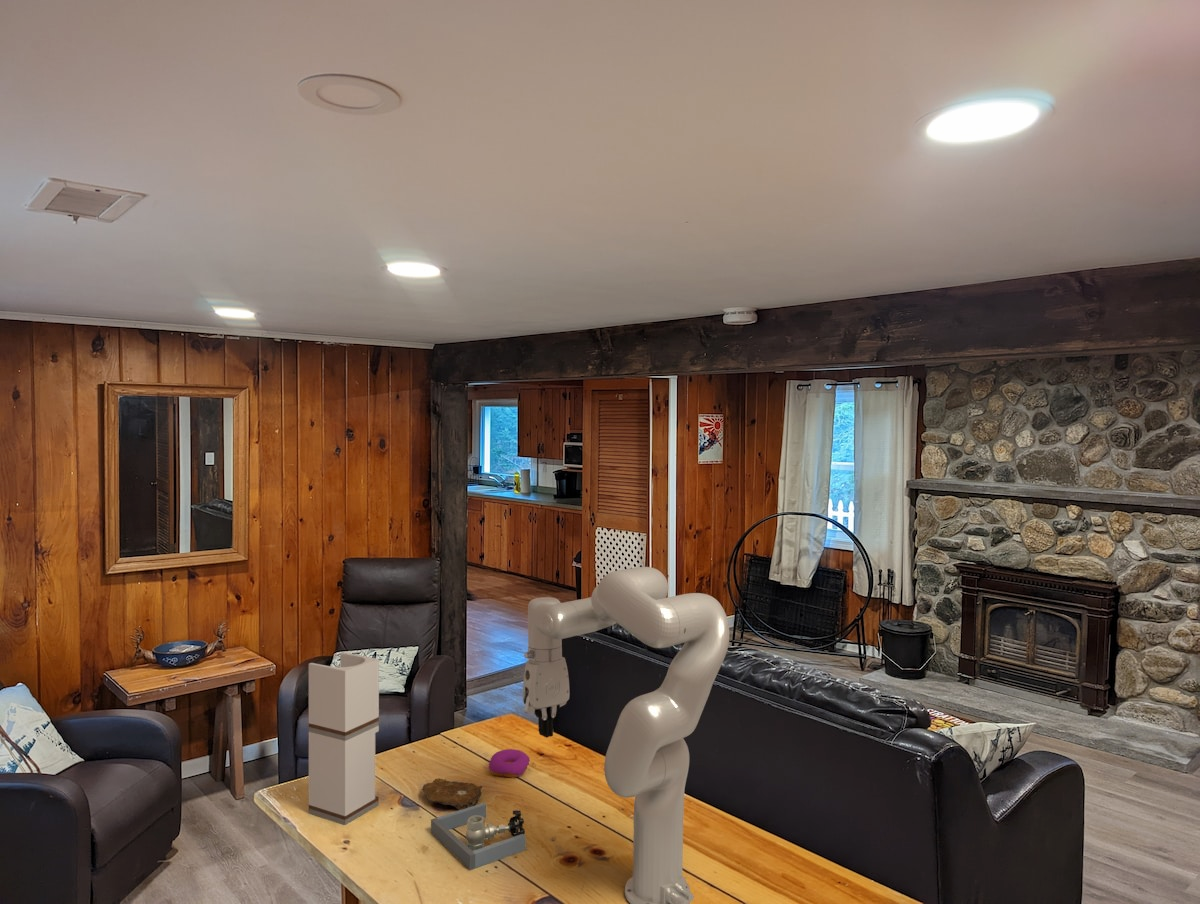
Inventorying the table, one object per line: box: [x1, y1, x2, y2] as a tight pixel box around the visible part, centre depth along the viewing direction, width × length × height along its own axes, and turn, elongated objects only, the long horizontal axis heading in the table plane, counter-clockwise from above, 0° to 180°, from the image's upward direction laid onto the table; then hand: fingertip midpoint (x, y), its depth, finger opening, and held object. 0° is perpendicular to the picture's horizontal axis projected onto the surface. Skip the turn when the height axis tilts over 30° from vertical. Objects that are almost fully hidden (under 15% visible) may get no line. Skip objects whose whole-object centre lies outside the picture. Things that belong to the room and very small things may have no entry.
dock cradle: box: [430, 802, 527, 871], centre depth 171 cm, size 18×13×3 cm
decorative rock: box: [421, 777, 483, 811], centre depth 190 cm, size 11×4×15 cm
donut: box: [488, 748, 531, 779], centre depth 206 cm, size 10×10×5 cm
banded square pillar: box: [308, 652, 380, 826], centre depth 184 cm, size 11×11×35 cm
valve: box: [465, 809, 526, 851], centre depth 169 cm, size 7×7×12 cm
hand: (546, 735), depth 177 cm, fingers closed
